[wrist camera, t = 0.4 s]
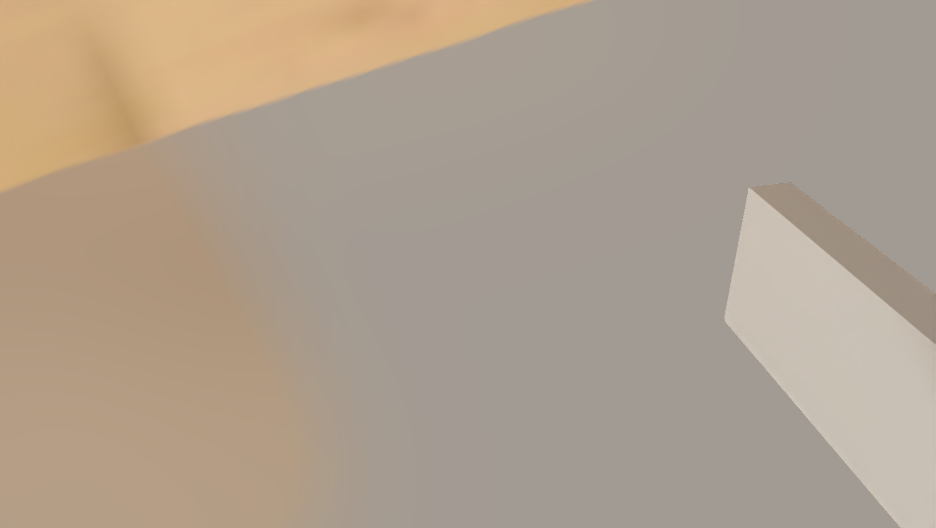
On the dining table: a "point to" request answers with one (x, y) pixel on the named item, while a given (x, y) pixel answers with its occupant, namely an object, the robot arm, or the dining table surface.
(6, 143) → the dining table surface
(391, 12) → the dining table surface
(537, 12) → the dining table surface
